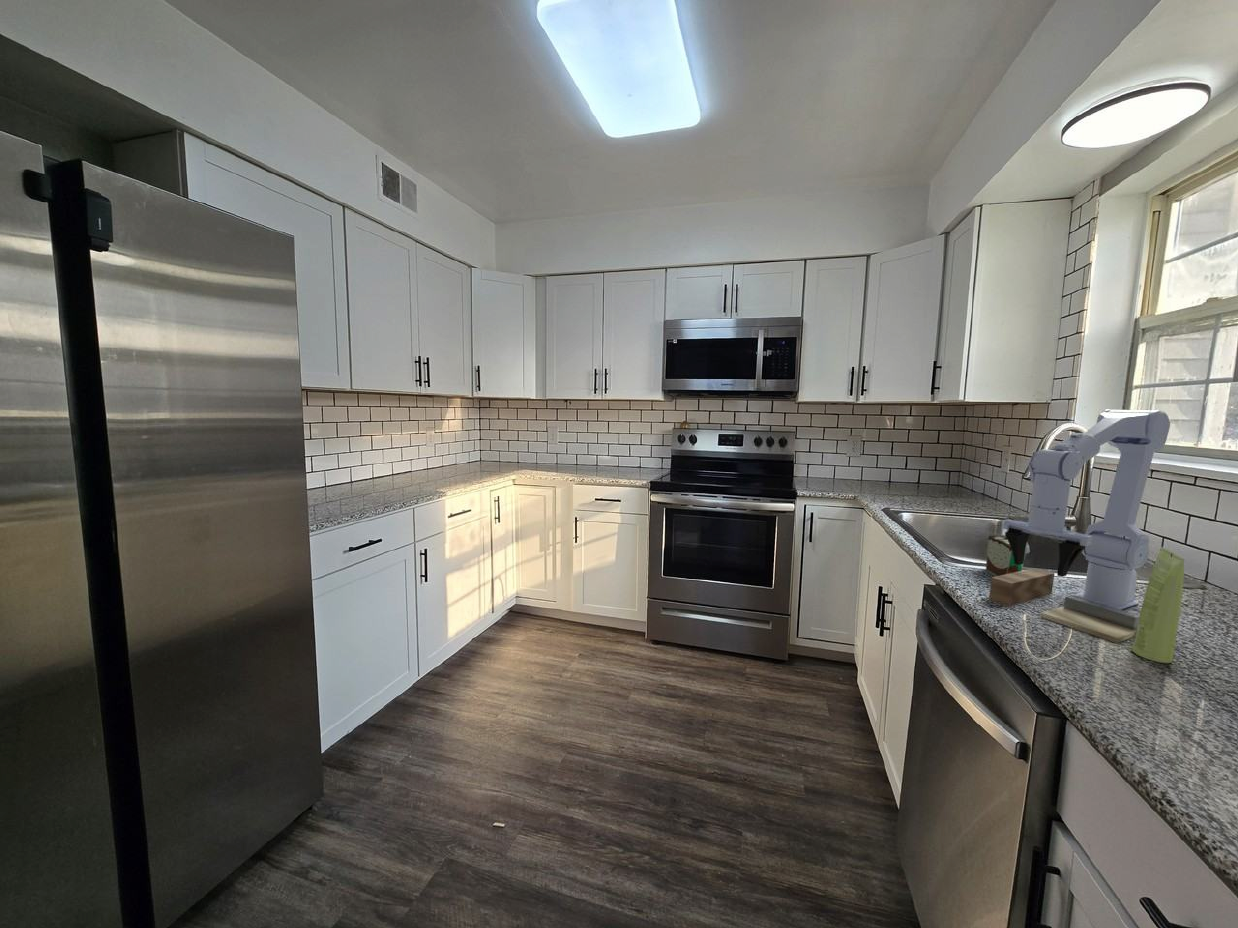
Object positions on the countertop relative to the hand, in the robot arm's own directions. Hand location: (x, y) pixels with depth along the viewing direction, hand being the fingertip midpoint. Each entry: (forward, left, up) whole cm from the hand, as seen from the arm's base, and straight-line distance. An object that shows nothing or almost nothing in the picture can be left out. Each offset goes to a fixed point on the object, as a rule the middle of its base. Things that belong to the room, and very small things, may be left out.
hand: (1039, 569), depth 103 cm
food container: (-21, -15, -10) cm, 28 cm away
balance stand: (-8, +8, -10) cm, 15 cm away
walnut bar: (-8, -6, -10) cm, 14 cm away
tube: (+2, +19, -10) cm, 21 cm away
